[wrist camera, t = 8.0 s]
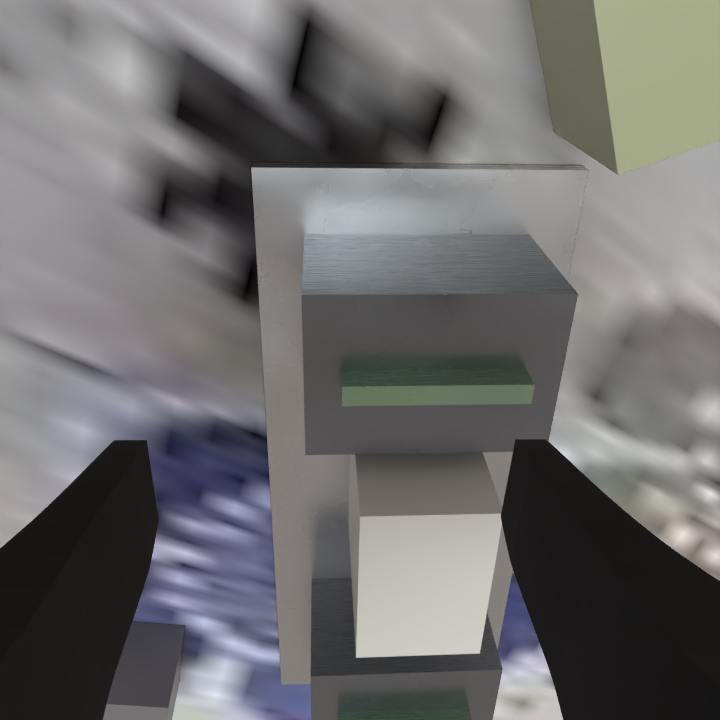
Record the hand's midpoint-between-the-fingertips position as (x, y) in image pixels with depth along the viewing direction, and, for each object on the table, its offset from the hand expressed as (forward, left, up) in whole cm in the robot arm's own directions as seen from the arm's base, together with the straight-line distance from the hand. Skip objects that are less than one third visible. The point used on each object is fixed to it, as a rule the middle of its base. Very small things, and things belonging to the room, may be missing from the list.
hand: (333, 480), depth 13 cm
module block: (+3, -7, -10) cm, 12 cm away
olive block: (+8, +8, -10) cm, 15 cm away
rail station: (+3, -8, -10) cm, 13 cm away
